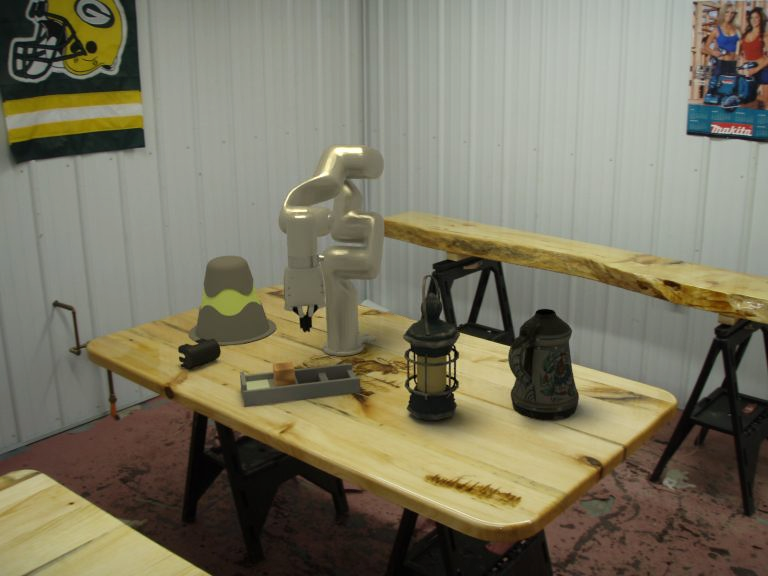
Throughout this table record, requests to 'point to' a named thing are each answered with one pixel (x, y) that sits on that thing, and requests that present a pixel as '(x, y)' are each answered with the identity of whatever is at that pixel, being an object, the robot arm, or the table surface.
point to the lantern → (431, 361)
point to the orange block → (284, 374)
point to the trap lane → (300, 385)
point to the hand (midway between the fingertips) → (306, 330)
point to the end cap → (199, 353)
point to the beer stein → (543, 368)
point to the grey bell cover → (230, 305)
